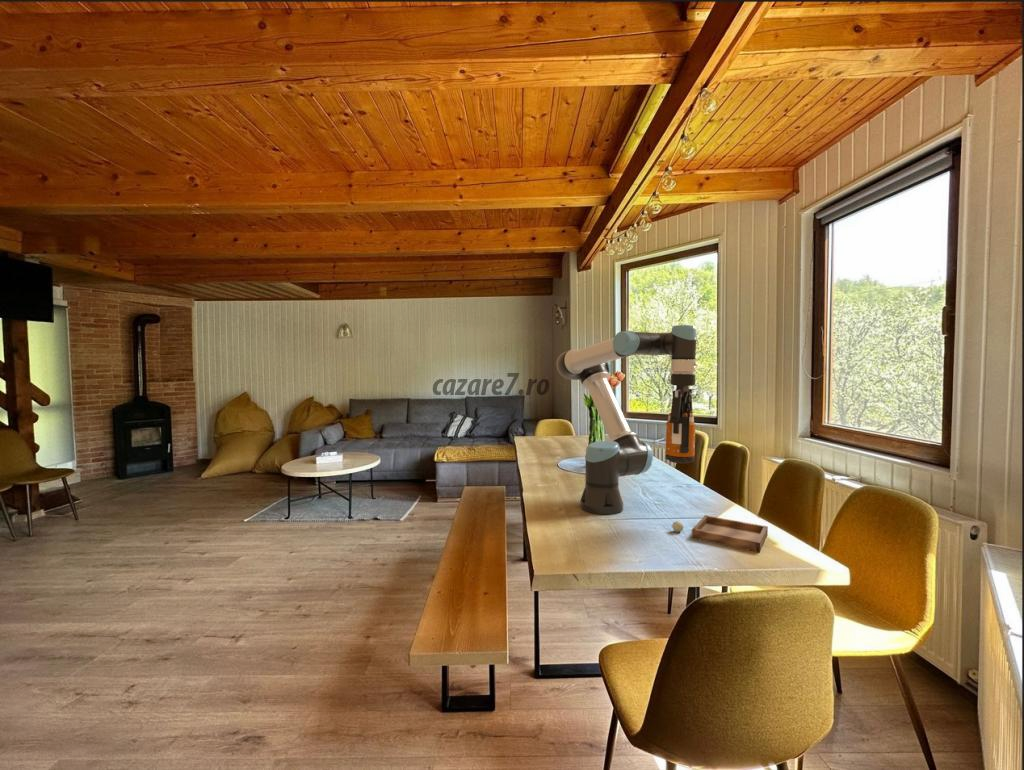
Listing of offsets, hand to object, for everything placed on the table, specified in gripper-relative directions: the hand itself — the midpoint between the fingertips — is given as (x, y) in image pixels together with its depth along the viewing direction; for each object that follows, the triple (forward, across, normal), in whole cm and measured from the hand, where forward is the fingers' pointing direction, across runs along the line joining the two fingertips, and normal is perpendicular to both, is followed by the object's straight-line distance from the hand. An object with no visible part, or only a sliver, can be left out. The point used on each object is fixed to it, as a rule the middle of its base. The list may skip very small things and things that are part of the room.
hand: (681, 441), depth 153 cm
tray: (+26, -5, -16) cm, 31 cm away
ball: (+26, -10, -2) cm, 28 cm away
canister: (+7, 0, 0) cm, 7 cm away
